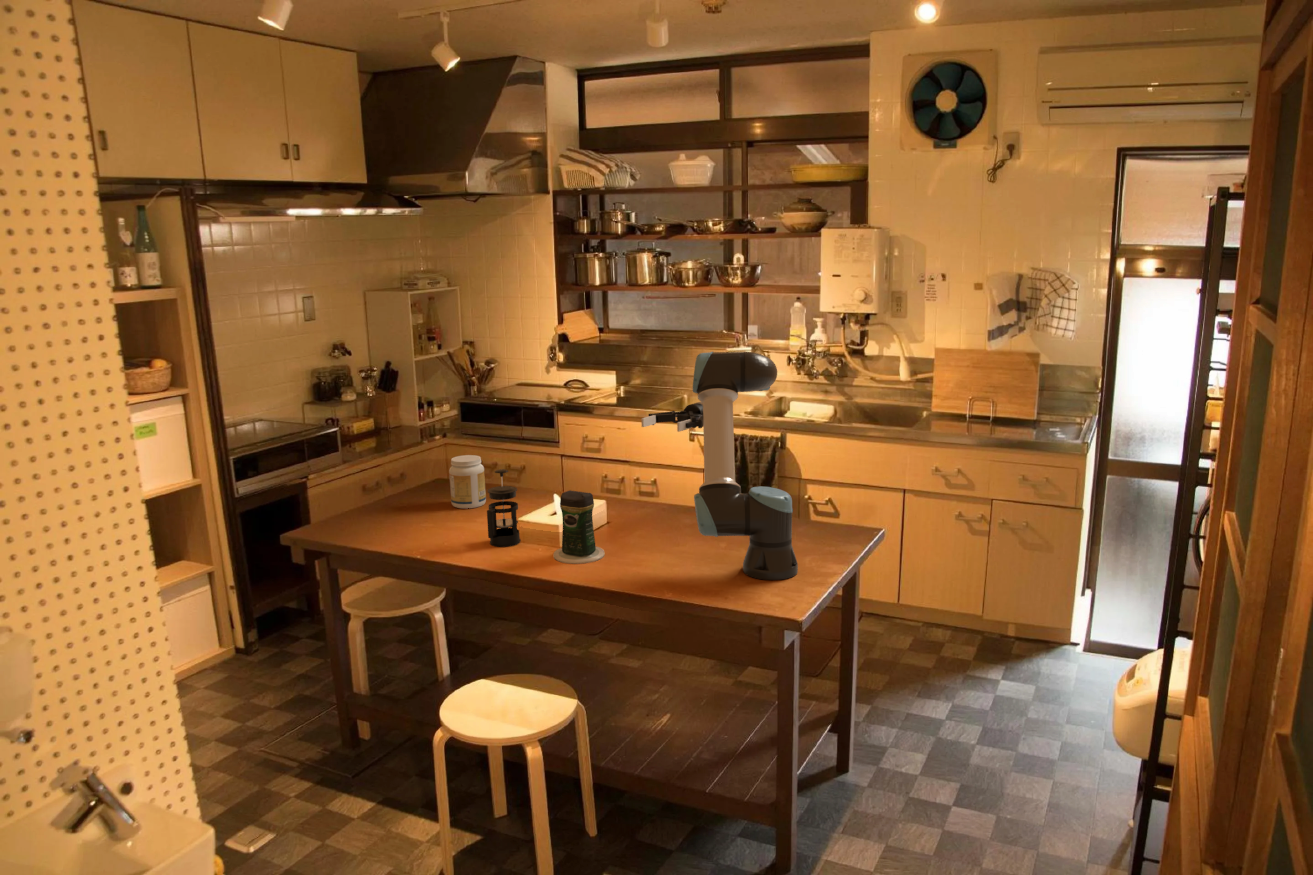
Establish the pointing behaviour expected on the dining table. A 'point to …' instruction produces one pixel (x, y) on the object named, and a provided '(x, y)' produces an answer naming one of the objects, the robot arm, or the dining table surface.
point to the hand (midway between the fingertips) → (660, 424)
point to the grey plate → (579, 557)
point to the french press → (504, 533)
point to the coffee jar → (577, 523)
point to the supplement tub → (467, 482)
